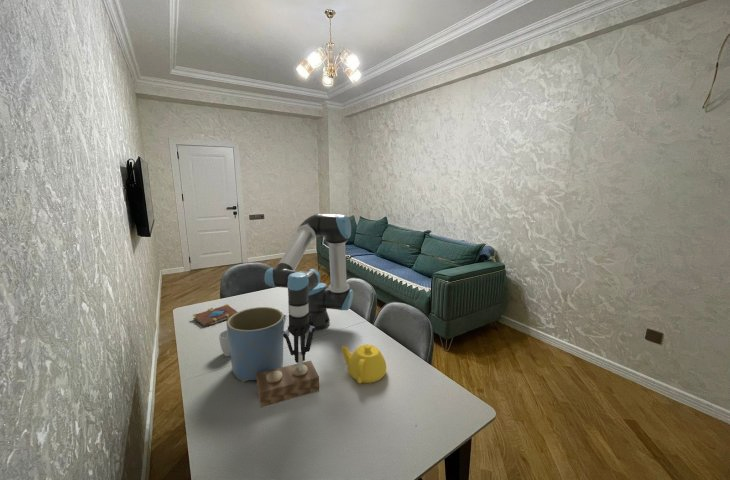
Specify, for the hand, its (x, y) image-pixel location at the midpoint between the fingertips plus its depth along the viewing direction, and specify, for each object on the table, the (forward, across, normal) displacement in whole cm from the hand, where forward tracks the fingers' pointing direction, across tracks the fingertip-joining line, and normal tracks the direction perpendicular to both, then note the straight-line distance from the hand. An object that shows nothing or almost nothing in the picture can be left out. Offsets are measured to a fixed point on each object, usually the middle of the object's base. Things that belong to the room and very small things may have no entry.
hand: (300, 368), depth 121 cm
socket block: (+8, +5, 0) cm, 9 cm away
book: (+8, +29, -80) cm, 86 cm away
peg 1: (+8, +10, 0) cm, 12 cm away
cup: (+8, +25, -36) cm, 45 cm away
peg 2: (+8, 0, 0) cm, 8 cm away
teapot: (+8, -26, +3) cm, 27 cm away
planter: (+8, +14, -19) cm, 25 cm away
